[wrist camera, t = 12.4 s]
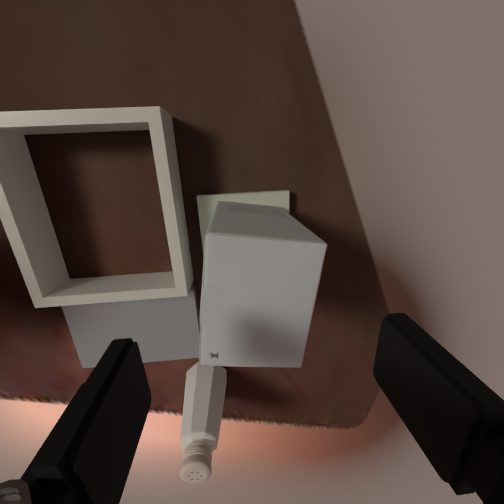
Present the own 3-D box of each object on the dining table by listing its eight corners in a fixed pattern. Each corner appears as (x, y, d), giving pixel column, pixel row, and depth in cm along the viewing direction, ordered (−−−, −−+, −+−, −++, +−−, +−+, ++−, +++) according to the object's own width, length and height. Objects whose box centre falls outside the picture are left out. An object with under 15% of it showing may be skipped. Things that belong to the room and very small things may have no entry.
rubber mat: (197, 195, 25) (196, 196, 24) (287, 190, 25) (289, 191, 24) (208, 285, 28) (207, 289, 27) (287, 279, 28) (289, 283, 27)
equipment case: (7, 122, 21) (-41, 113, 18) (171, 116, 22) (159, 106, 18) (87, 361, 30) (66, 389, 26) (203, 351, 31) (199, 377, 27)
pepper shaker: (178, 368, 31) (151, 468, 21) (217, 353, 31) (210, 447, 21) (197, 397, 33) (181, 502, 23) (234, 383, 33) (235, 483, 22)
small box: (270, 278, 27) (303, 371, 15) (212, 275, 26) (196, 369, 14) (281, 204, 25) (331, 242, 12) (217, 198, 24) (201, 232, 12)
